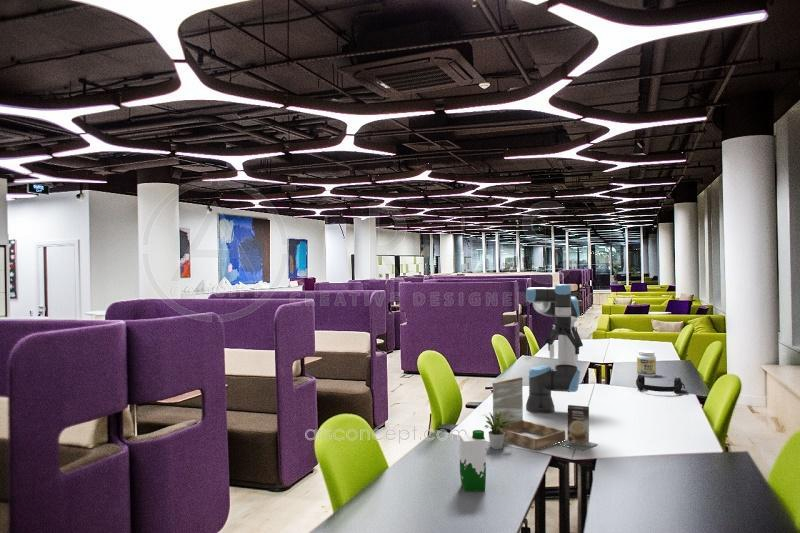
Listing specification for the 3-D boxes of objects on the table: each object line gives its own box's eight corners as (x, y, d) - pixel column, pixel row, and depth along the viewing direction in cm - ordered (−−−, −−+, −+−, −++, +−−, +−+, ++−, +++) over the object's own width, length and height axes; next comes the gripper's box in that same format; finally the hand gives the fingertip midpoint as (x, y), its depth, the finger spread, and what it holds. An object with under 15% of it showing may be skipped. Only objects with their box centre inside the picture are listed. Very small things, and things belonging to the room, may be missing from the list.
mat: (557, 444, 255) (557, 443, 255) (573, 439, 262) (573, 437, 262) (581, 451, 245) (581, 449, 245) (597, 445, 253) (597, 443, 253)
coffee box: (566, 444, 252) (566, 408, 252) (567, 440, 258) (567, 404, 258) (589, 446, 249) (588, 409, 249) (589, 442, 255) (589, 406, 255)
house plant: (491, 454, 242) (491, 415, 242) (472, 445, 254) (472, 408, 254) (518, 449, 248) (518, 411, 248) (498, 440, 260) (498, 404, 260)
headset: (674, 386, 371) (674, 373, 371) (693, 395, 345) (693, 381, 345) (630, 386, 372) (629, 373, 372) (646, 395, 346) (645, 381, 346)
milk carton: (488, 492, 202) (487, 434, 202) (462, 493, 202) (462, 435, 202) (482, 482, 211) (482, 427, 211) (458, 483, 210) (457, 428, 210)
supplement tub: (639, 376, 402) (639, 352, 402) (635, 373, 414) (635, 349, 414) (658, 377, 400) (657, 352, 400) (653, 374, 412) (653, 350, 412)
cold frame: (493, 436, 267) (492, 382, 267) (521, 428, 279) (520, 377, 279) (537, 450, 247) (536, 391, 247) (565, 440, 260) (564, 385, 260)
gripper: (537, 314, 290) (537, 357, 290) (581, 318, 270) (581, 363, 270) (546, 313, 294) (547, 355, 294) (590, 317, 275) (590, 361, 275)
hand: (563, 359), depth 282 cm, fingers open, 13 cm apart
